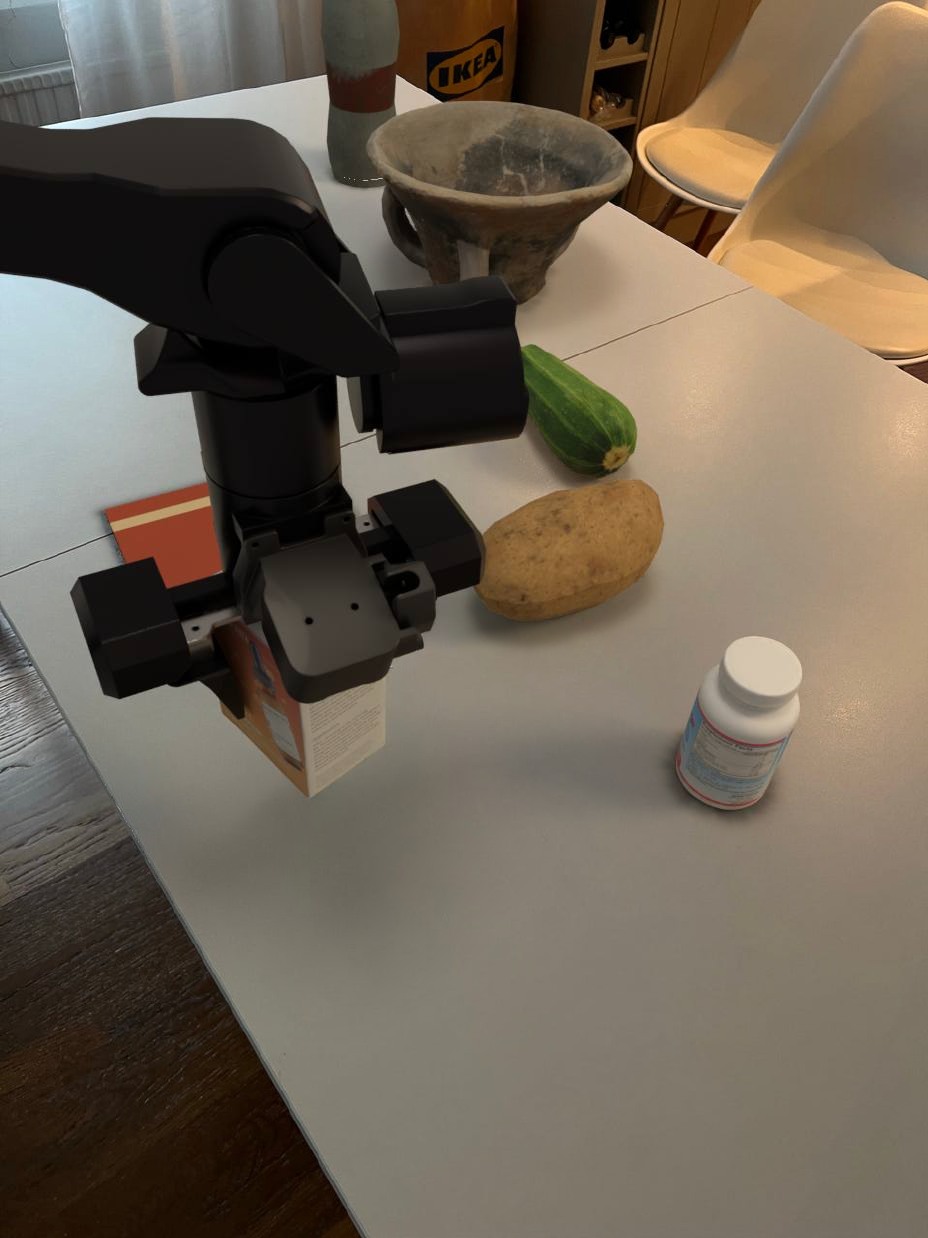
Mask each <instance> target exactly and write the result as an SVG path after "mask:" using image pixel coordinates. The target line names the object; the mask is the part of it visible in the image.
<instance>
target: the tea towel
mask: <svg viewBox="0 0 928 1238" xmlns="http://www.w3.org/2000/svg"><path fill="white" fill-rule="evenodd" d="M103 510H104V511H103V512H104V515H105V517H106V519H107V522H108V524H109V525H110V528H111V531H112V533H113V535H114V539H115V540H116V543H117V545H118V548H119V550H120V553H121V555H122V557H123V560H124V563H125V564H127V563H131V562H135V561H138V560H142V559H145V558H149V557H154V559H155V562H156V564H157V566H158V569H159V571H160V573H161V576H162V578H163V581H164V583H165V585H166V588H170V587H174V586H177V585H181V584H184V583H188V582H191V581H195V580H198V579H202V578H205V577H209V576H212V575H214V574H216V573H217V572H219V571H221V570H222V566H221V560H220V555H219V549H218V543H217V540H216V537H215V531H214V525H213V523H214V520H213V515H212V509H211V503H210V497H209V492H208V486H207V481H205V482H202V483H198V484H195V485H191V486H187V487H183V488H179V489H176V490H171V491H169V492H165V493H161V494H157V495H153V496H150V497H146V498H142V499H141V498H140V499H138V500H135V501H131V502H126V503H123V504H119V505H115V506H111V507H108V508H104V509H103Z"/></svg>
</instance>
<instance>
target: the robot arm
mask: <svg viewBox="0 0 928 1238" xmlns="http://www.w3.org/2000/svg"><path fill="white" fill-rule="evenodd" d="M0 274H2V275H9V276H17V277H23V278H34V279H40V280H47V281H52V282H55V283H59V284H62V285H67V286H69V287H74V288H77V289H80V290H84V291H86V292H89V293H91V294H93V295H95V296H97V297H99V298H101V299H102V300H105V301H106V302H108V303H110V304H112V305H114V306H116V307H118V308H119V309H121V310H123V311H125V312H127V313H129V314H130V315H132V316H134V317H136V318H138V319H140V320H142V321H143V322H146V323H148V324H146V326H144V327H143V328H142V329H141V330H139V332H138V333H136V334H135V335H134V337H133V350H134V351H133V352H134V362H135V370H136V382H137V389H138V391H139V392H140V393H141V394H142V395H143V396H146V397H158V396H159V397H160V396H168V395H175V394H176V395H177V394H185V393H190V394H191V400H192V406H193V412H194V417H195V424H196V429H197V434H198V439H199V446H200V457H201V462H202V468H203V472H204V474H205V475H204V476H205V479H206V482H207V486H208V492H209V497H210V503H211V509H212V515H213V520H214V523H213V525H214V531H215V537H216V540H217V543H218V549H219V555H220V560H221V566H222V572H223V573H219V574H216V575H212V576H209V577H205V578H202V579H198V580H195V581H191V582H188V583H184V584H181V585H177V586H174V587H170V588H166V585H165V583H164V581H163V578H162V576H161V573H160V571H159V569H158V566H157V564H156V562H155V559H154V557H149V558H145V559H142V560H138V561H135V562H131V563H127V564H126V563H124V564H121V565H117V566H113V567H109V568H105V569H101V570H98V571H95V572H92V573H88V574H84V575H81V576H78V577H77V579H76V581H75V583H73V586H72V588H71V590H70V591H69V595H70V598H71V600H72V604H73V607H74V610H75V613H76V616H77V619H78V622H79V625H80V628H81V631H82V634H83V637H84V640H85V643H86V646H87V649H88V653H89V656H90V659H91V662H92V664H93V667H94V670H95V674H96V677H97V679H98V682H99V685H100V688H101V691H102V694H103V695H104V696H106V697H109V698H113V699H116V700H122V699H126V698H129V697H132V696H135V695H138V694H141V693H145V692H148V691H151V690H154V689H156V688H160V687H163V686H169V687H171V688H182V687H185V686H188V685H191V684H194V683H196V682H197V683H198V682H200V683H201V684H202V685H204V686H205V687H207V689H209V690H210V691H211V692H212V693H213V694H214V695H215V696H216V697H217V698H218V700H219V699H220V700H221V702H222V703H223V704H224V705H225V706H226V707H227V708H228V709H229V710H230V712H231V713H232V714H233V715H234V716H235V717H236V718H237V719H238V720H240V719H243V718H245V709H244V703H243V700H242V698H241V695H240V693H239V690H238V688H237V686H236V683H235V681H234V678H233V676H232V673H231V671H230V670H231V669H230V666H229V664H228V662H227V660H226V658H225V655H224V653H223V651H222V649H221V646H220V644H219V642H218V640H217V637H216V635H215V633H214V631H213V630H214V629H215V628H216V627H219V626H222V625H226V624H229V623H232V622H235V621H239V620H242V619H243V620H244V622H245V624H246V625H250V624H253V623H256V622H260V621H261V625H262V630H263V633H264V635H265V638H266V640H267V643H268V645H269V648H270V650H271V653H272V655H273V658H274V660H275V663H276V665H277V668H278V670H279V673H280V676H281V679H282V683H283V685H284V688H285V690H286V692H287V694H288V695H289V696H290V697H291V698H292V699H294V700H295V701H297V702H300V703H304V704H311V703H315V702H319V701H322V700H324V699H326V698H327V697H329V696H332V695H335V694H338V693H340V692H343V691H346V690H349V689H352V688H355V687H358V686H361V685H364V684H371V683H374V682H377V681H379V680H381V679H382V678H384V677H385V676H386V677H387V675H388V674H389V672H390V669H391V666H392V663H393V660H394V659H397V658H401V657H403V656H407V655H409V654H413V653H415V652H418V651H421V650H423V649H424V648H425V643H424V642H425V641H424V638H423V635H422V634H424V633H427V632H431V630H432V628H433V626H434V623H435V622H436V619H437V600H438V599H439V598H440V597H445V596H447V595H450V594H453V593H456V592H460V591H463V590H465V589H469V588H473V586H475V585H478V584H480V582H481V580H482V578H483V576H484V571H485V560H486V547H485V544H484V541H483V537H482V535H483V533H482V532H481V531H480V530H479V529H478V527H477V526H476V524H475V523H474V521H473V520H472V519H471V518H470V516H469V515H468V514H467V513H466V511H465V510H464V509H463V507H462V506H461V504H459V502H458V501H457V500H456V498H455V497H454V495H453V494H452V492H451V491H450V490H449V489H448V487H447V486H445V485H444V484H443V483H441V482H440V481H438V480H437V479H436V478H432V479H429V480H425V481H422V482H419V483H414V484H411V485H407V486H404V487H401V488H396V489H393V490H389V491H386V492H382V493H378V494H375V495H372V496H370V497H368V498H366V503H367V507H366V508H367V513H365V514H361V515H359V516H357V517H356V514H355V512H354V506H353V499H352V497H351V495H350V494H349V493H348V491H347V490H346V488H345V486H344V485H343V474H342V473H343V471H342V469H343V468H342V451H341V450H342V449H341V433H340V432H341V431H340V413H339V412H340V411H339V394H338V392H339V391H338V390H339V389H338V377H339V378H344V379H345V380H346V389H347V396H348V403H349V407H350V412H351V416H352V420H353V423H354V427H355V429H356V431H357V433H358V434H360V435H361V434H367V433H373V432H374V430H375V437H376V438H375V439H376V445H377V450H378V453H379V454H381V455H382V454H387V455H388V456H390V455H399V454H405V453H413V452H421V451H422V452H423V451H429V450H430V451H431V450H436V449H437V450H439V449H445V448H452V447H459V446H468V445H469V446H470V445H475V444H476V445H477V444H483V443H490V442H499V441H506V440H513V439H518V438H520V437H521V435H522V434H523V432H524V431H525V427H526V424H527V420H528V417H529V414H528V410H529V392H528V389H527V387H526V386H525V378H524V367H523V358H522V352H521V347H522V346H521V341H520V338H519V333H518V330H517V326H516V320H517V319H516V318H517V317H516V316H517V307H518V305H517V301H516V299H515V297H514V296H513V294H512V293H511V291H510V289H509V288H508V286H507V284H506V283H505V281H504V279H503V278H502V277H501V276H500V275H492V276H481V277H473V278H469V279H466V280H463V281H460V282H457V283H452V284H445V285H434V286H433V285H424V286H413V287H402V288H393V289H381V290H374V292H373V290H372V288H371V286H370V282H369V281H368V279H367V276H366V273H365V271H364V269H363V266H362V264H361V262H360V259H359V257H358V255H357V253H354V252H352V250H351V249H350V248H349V247H348V246H347V245H346V244H345V242H344V241H343V240H342V239H341V238H340V236H339V235H338V234H337V233H336V232H335V230H334V228H333V225H332V223H331V221H330V218H329V216H328V213H327V210H326V208H325V205H324V203H323V201H322V198H321V196H320V193H319V191H318V188H317V186H316V183H315V181H314V179H313V176H312V174H311V171H310V168H309V166H308V165H307V164H306V163H305V161H304V160H303V157H301V155H300V154H299V152H298V151H297V149H296V148H295V147H294V145H292V144H291V141H289V139H288V138H287V137H286V136H284V135H282V133H280V132H279V131H277V130H276V129H274V128H273V127H271V126H268V125H266V124H262V123H261V122H257V121H255V120H251V119H247V118H237V117H236V118H235V117H181V116H179V117H174V116H173V117H172V116H171V117H168V116H148V117H142V118H138V119H133V120H128V121H123V122H118V123H114V124H113V123H112V124H107V125H102V126H98V127H93V128H48V127H47V128H46V127H41V126H35V125H29V124H24V123H18V122H12V121H8V120H2V119H0ZM220 700H219V701H220Z"/></svg>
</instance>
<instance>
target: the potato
mask: <svg viewBox="0 0 928 1238" xmlns="http://www.w3.org/2000/svg"><path fill="white" fill-rule="evenodd" d="M664 528H665V519H664V516H663V510H662V505H661V502H660V496H659V494H658V493H657V492H656V491H655V490H654V488H653V487H652V486H651V485H649V484H648V483H646V482H644V481H643V480H642V479H634V478H633V479H631V478H630V479H627V478H621V479H620V478H619V479H614V480H610V481H605V482H600V483H596V484H590V485H586V486H581V487H575V488H568V489H560V490H555V491H552V492H550V493H548V494H545V495H542V496H541V497H539V498H536V499H534V500H531V501H529V502H527V503H526V504H524V505H522V506H521V507H519V508H518V509H516V510H514V511H512V512H511V513H509V514H507V515H505V516H504V517H501V518H499V519H498V520H496V521H495V522H493V523H492V524H491V525H490V526H489V527H488V528H487V529H486V530H485V531H484V532H483V533H482V537H483V541H484V544H485V547H486V560H485V571H484V576H483V578H482V580H481V582H480V584H478V585H475V586H472V589H473V591H475V593H476V594H477V595H478V597H479V598H480V600H481V601H482V602H483V603H484V604H485V606H486V607H487V608H488V610H489V611H492V612H495V613H497V614H499V615H502V616H503V617H506V618H509V619H511V620H514V621H519V622H520V621H521V622H522V621H523V622H537V621H538V622H539V621H542V620H549V619H553V618H557V617H561V616H565V615H570V614H574V613H576V612H580V611H583V610H587V609H590V608H593V607H596V606H598V605H600V604H602V603H605V602H607V601H609V600H610V599H613V598H614V597H615V596H617V595H619V594H620V593H622V592H624V591H625V590H628V589H629V588H630V587H632V586H633V585H634V584H636V583H638V582H639V581H640V580H641V579H642V578H644V576H645V575H646V573H647V571H648V569H649V568H650V566H651V564H652V563H653V561H654V559H655V557H656V555H657V552H658V551H659V549H660V546H661V544H662V540H663V533H664V530H665V529H664Z"/></svg>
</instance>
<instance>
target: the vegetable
mask: <svg viewBox="0 0 928 1238" xmlns="http://www.w3.org/2000/svg"><path fill="white" fill-rule="evenodd" d="M521 352H522V358H523V367H524V378H525V386H526V387H527V389H528V392H529V410H528V417H530V419H531V420H532V422H533V424H534V425H535V427H536V428H537V430H538V432H539V434H540V436H541V437H542V439H543V441H544V442H545V443H546V445H547V447H548V448H549V451H550V452H551V453H552V455H554V457H556V458H557V460H558V461H559V462H560V463H561V464H562V465H563V466H564V467H565V468H567V469H568V470H570V471H571V472H573V473H575V474H577V475H580V476H582V477H586V478H593V479H600V478H605V477H607V476H608V475H611V474H615V473H617V472H618V471H619V470H620V469H621V467H622V466H624V465H625V464H626V463H627V461H628V459H629V458H630V457H631V456H632V455H633V454H634V453H635V450H636V446H637V438H638V427H637V424H636V420H635V418H634V416H633V414H632V413H631V411H630V410H629V408H628V407H627V406H626V404H624V403H623V402H622V401H621V400H620V399H619V398H617V397H616V396H614V395H613V394H612V393H610V392H609V391H607V390H606V389H604V388H602V387H601V386H599V385H598V384H596V383H595V382H593V381H592V380H591V379H589V378H588V377H586V376H585V375H584V374H583V373H581V372H580V371H578V370H576V369H575V368H574V367H572V366H571V365H569V364H567V363H566V362H564V361H563V360H561V359H560V358H559V357H557V355H556V356H555V355H554V354H553V353H551V352H548V351H546V350H544V349H543V348H541V347H539V346H538V345H536V344H533V343H530V344H527V345H524V346H521Z"/></svg>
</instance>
